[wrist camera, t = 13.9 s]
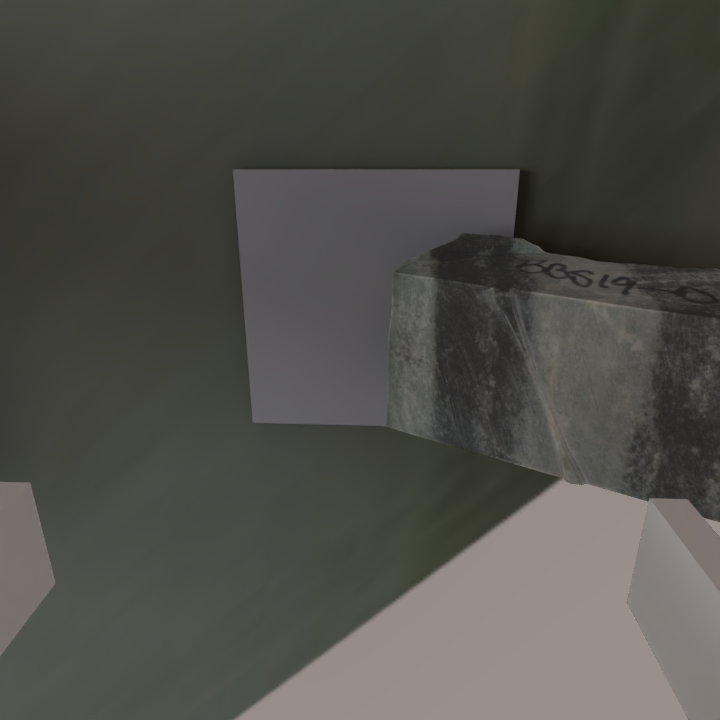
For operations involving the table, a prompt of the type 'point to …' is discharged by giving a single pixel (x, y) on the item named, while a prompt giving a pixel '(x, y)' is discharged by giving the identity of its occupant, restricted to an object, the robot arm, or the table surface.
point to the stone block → (562, 365)
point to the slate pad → (343, 275)
